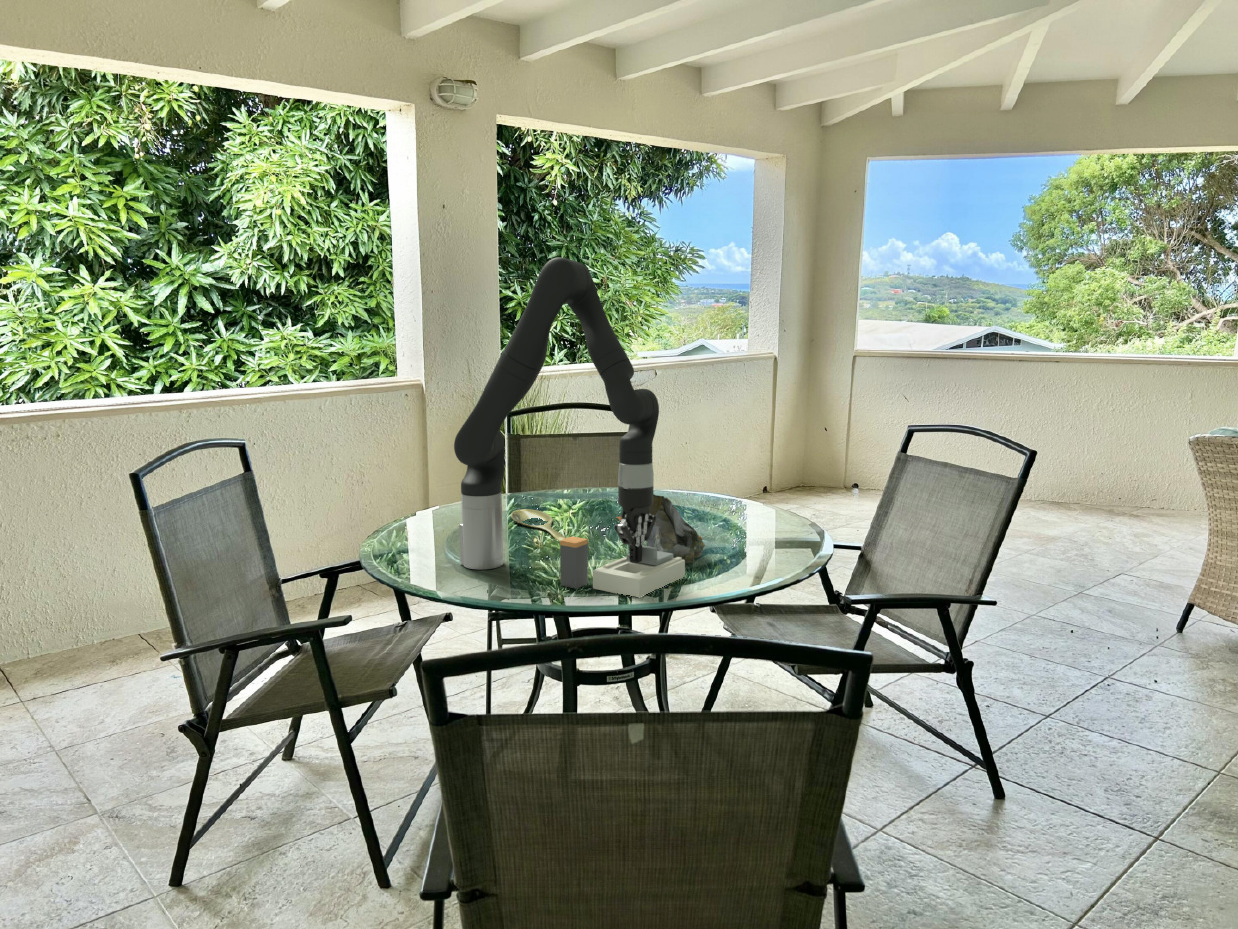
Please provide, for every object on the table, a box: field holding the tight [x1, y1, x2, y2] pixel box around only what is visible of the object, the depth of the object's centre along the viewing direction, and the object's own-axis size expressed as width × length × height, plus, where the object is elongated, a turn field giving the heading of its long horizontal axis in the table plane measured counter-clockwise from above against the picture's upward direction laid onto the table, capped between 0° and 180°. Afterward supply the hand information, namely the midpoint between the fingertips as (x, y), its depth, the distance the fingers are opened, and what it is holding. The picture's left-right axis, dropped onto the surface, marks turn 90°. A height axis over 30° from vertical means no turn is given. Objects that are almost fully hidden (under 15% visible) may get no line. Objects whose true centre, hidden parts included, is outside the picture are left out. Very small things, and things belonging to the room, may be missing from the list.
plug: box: [559, 536, 589, 590], centre depth 196 cm, size 4×4×10 cm
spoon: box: [510, 508, 567, 542], centre depth 247 cm, size 35×11×2 cm, turn 26°
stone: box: [645, 494, 706, 564], centre depth 224 cm, size 17×10×30 cm
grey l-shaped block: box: [626, 544, 673, 566], centre depth 201 cm, size 8×7×4 cm
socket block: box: [592, 556, 686, 598], centre depth 198 cm, size 12×18×4 cm, turn 145°
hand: (635, 562), depth 196 cm, fingers closed
